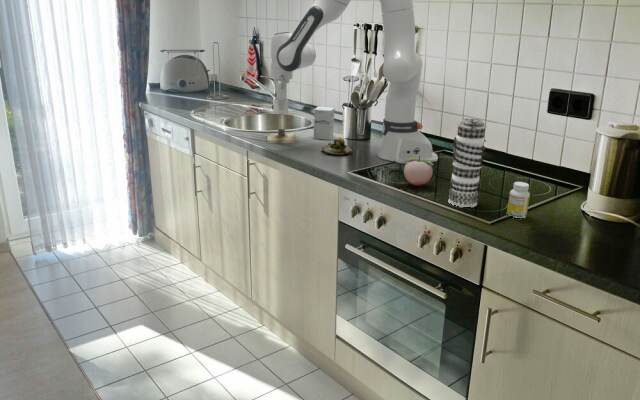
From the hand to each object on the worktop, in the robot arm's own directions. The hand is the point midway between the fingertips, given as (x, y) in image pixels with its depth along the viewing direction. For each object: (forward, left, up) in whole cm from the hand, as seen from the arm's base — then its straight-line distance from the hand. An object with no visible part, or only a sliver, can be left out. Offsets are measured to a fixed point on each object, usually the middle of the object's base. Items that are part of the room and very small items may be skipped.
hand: (281, 108), depth 230 cm
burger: (-21, +20, -14) cm, 32 cm away
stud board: (0, 0, -13) cm, 13 cm away
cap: (0, 0, -2) cm, 2 cm away
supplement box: (-18, -4, -13) cm, 23 cm away
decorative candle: (-52, +76, -13) cm, 93 cm away
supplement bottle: (-64, +87, -13) cm, 109 cm away
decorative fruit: (-42, +61, -13) cm, 75 cm away
